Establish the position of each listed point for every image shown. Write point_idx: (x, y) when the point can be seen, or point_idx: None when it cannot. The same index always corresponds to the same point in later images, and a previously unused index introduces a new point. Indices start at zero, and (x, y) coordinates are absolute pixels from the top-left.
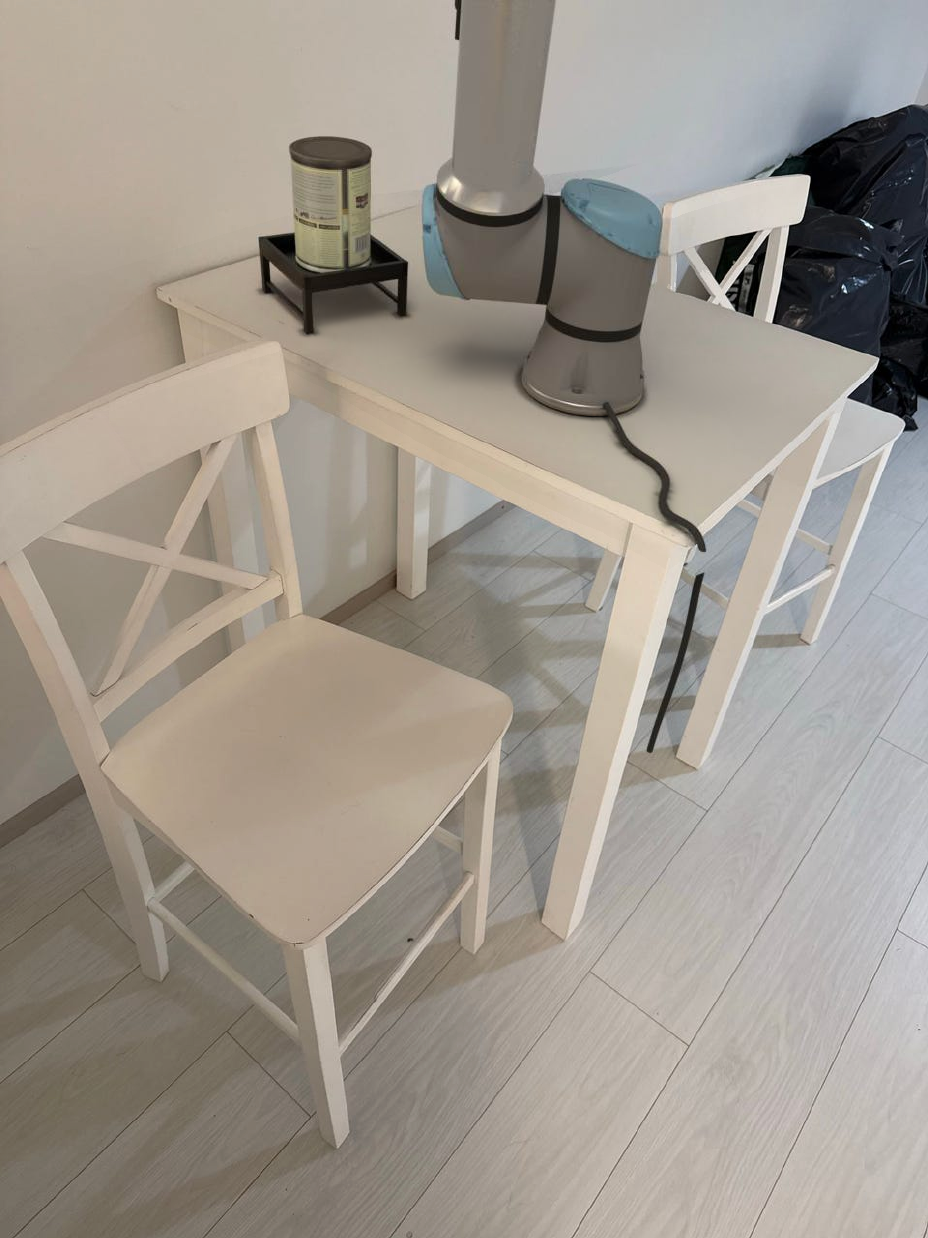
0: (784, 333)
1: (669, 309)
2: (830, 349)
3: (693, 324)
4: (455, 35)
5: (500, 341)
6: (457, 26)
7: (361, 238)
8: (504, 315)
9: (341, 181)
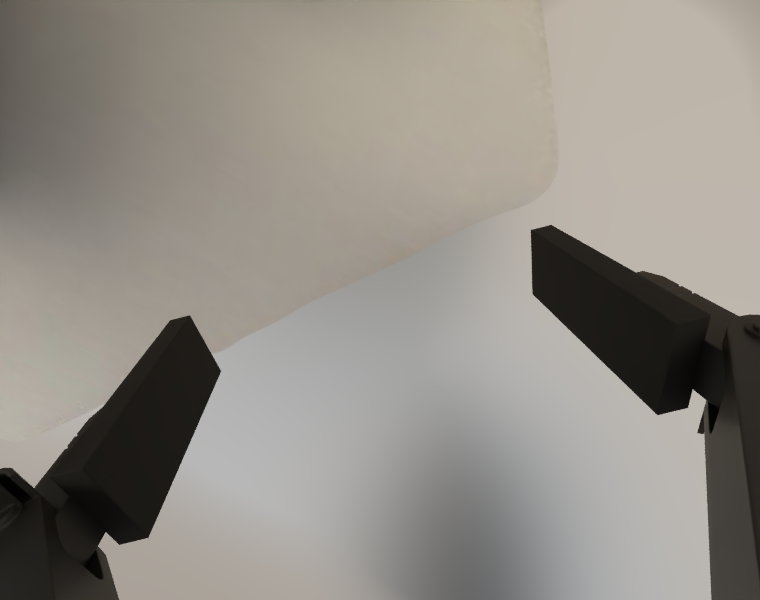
0: (77, 409)
1: (149, 333)
2: (35, 427)
3: (103, 337)
4: (554, 228)
5: (43, 45)
6: (562, 241)
7: None
8: (144, 108)
9: None
